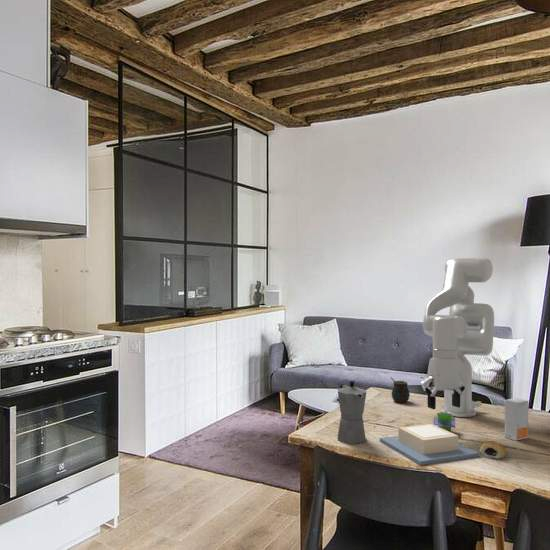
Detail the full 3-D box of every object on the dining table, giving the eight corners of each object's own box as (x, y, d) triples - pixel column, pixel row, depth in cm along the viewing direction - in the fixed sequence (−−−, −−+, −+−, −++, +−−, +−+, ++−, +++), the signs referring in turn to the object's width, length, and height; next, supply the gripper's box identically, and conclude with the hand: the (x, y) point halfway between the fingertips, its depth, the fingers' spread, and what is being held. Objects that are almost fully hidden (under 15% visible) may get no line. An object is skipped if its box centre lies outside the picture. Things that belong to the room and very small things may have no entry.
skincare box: (516, 441, 149) (516, 402, 149) (504, 437, 153) (504, 399, 153) (528, 438, 152) (529, 400, 152) (516, 434, 155) (516, 397, 156)
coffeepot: (375, 444, 145) (375, 384, 145) (346, 447, 143) (346, 386, 143) (353, 429, 160) (353, 374, 160) (326, 431, 157) (327, 376, 157)
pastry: (483, 447, 144) (483, 434, 144) (508, 451, 141) (508, 438, 141) (478, 456, 136) (478, 443, 136) (504, 462, 133) (504, 448, 133)
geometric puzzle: (455, 431, 151) (455, 407, 156) (432, 428, 154) (433, 405, 158) (455, 439, 157) (455, 416, 161) (433, 437, 159) (434, 413, 164)
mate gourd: (412, 403, 193) (412, 379, 193) (393, 404, 192) (393, 379, 192) (406, 399, 200) (406, 375, 200) (388, 399, 200) (388, 375, 200)
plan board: (433, 434, 155) (433, 418, 155) (479, 456, 136) (479, 438, 136) (379, 441, 148) (379, 424, 148) (420, 465, 129) (420, 446, 129)
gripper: (458, 352, 164) (457, 403, 163) (415, 353, 158) (414, 406, 157) (474, 355, 157) (473, 408, 156) (429, 356, 151) (429, 411, 150)
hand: (443, 407), depth 157 cm, fingers open, 9 cm apart
